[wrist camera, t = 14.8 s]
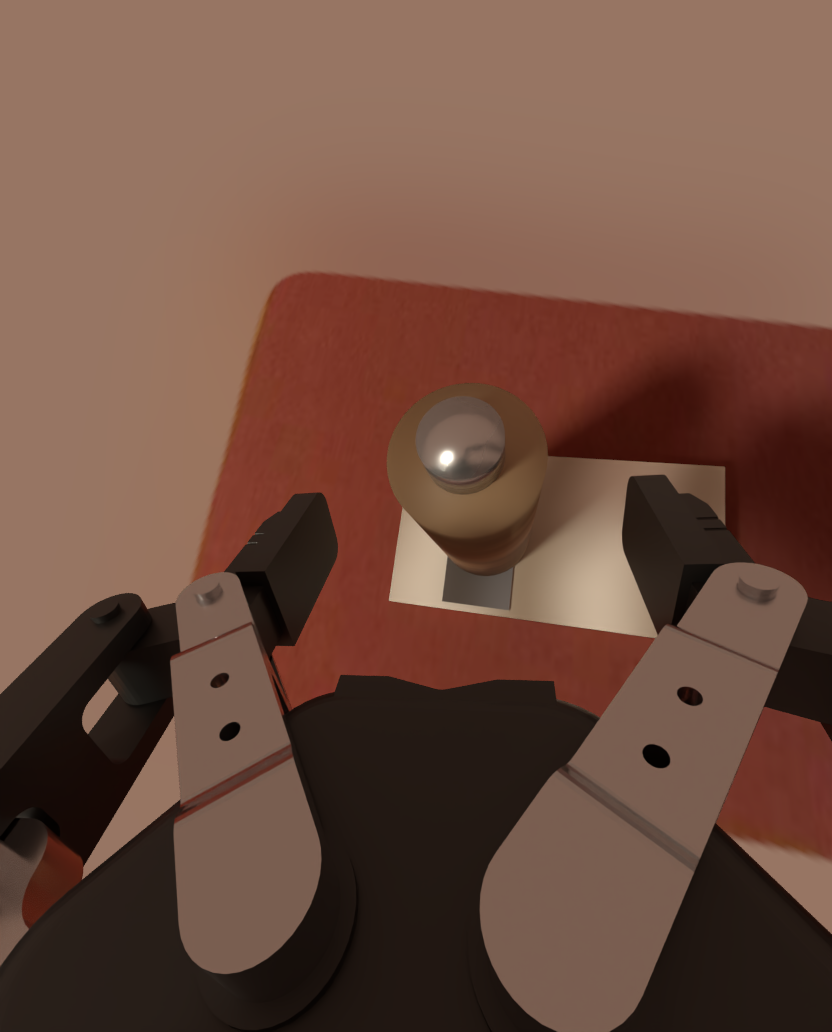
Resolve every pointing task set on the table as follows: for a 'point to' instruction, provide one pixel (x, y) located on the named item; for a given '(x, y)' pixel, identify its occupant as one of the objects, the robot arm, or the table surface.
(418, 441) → the wooden pepper mill
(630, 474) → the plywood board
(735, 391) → the table surface
